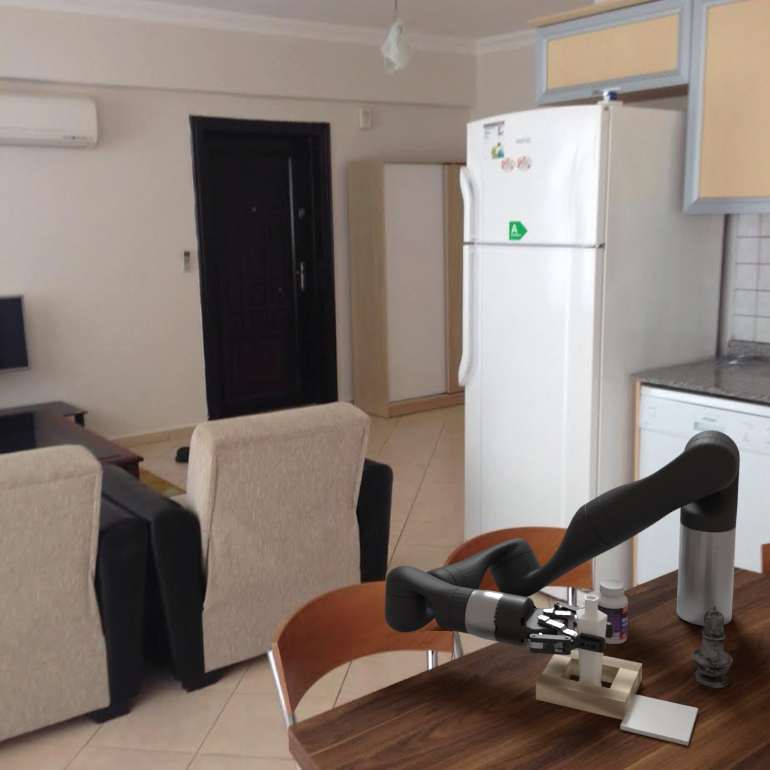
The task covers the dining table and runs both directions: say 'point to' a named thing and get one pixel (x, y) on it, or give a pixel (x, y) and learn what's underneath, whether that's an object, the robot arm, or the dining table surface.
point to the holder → (590, 685)
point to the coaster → (660, 719)
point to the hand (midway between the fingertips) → (608, 638)
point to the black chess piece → (712, 652)
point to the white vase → (591, 624)
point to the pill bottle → (614, 608)
